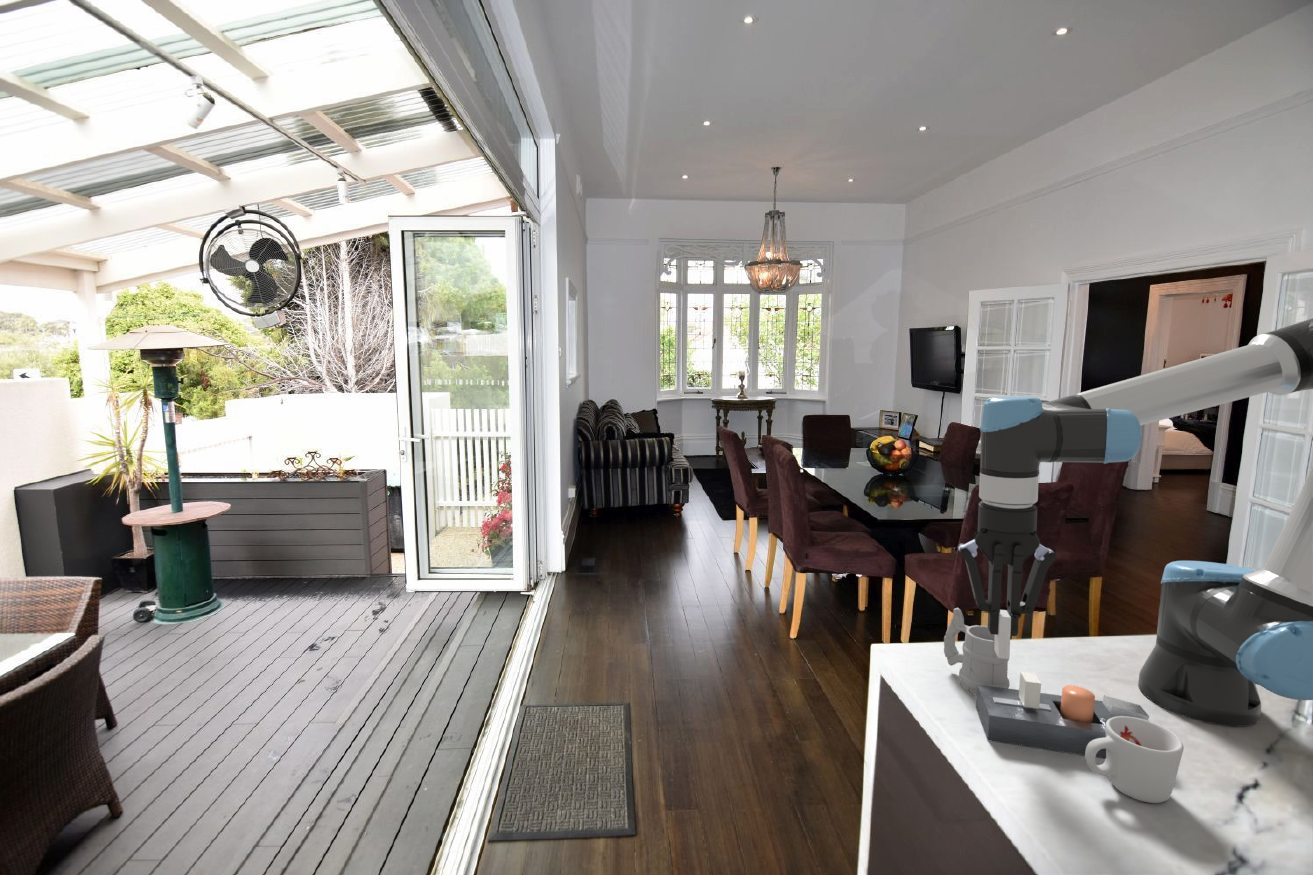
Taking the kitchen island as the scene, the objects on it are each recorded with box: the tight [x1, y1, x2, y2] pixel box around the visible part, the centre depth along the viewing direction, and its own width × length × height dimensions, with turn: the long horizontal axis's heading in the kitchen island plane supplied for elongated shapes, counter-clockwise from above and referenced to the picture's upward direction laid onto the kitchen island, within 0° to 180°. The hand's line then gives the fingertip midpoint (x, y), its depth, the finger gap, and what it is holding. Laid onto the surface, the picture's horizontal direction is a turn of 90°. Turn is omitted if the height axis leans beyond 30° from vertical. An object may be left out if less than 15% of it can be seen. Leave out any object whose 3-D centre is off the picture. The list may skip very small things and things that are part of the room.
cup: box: [1084, 716, 1184, 804], centre depth 81 cm, size 11×8×8 cm
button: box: [1060, 684, 1096, 723], centre depth 92 cm, size 4×4×5 cm
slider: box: [1018, 671, 1042, 709], centre depth 93 cm, size 2×3×4 cm, turn 163°
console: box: [975, 684, 1119, 760], centre depth 93 cm, size 21×9×5 cm, turn 73°
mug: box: [943, 607, 1010, 697], centre depth 107 cm, size 8×12×12 cm, turn 26°
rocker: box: [1101, 695, 1150, 721], centre depth 90 cm, size 5×3×1 cm, turn 73°
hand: (1001, 654), depth 94 cm, fingers closed
